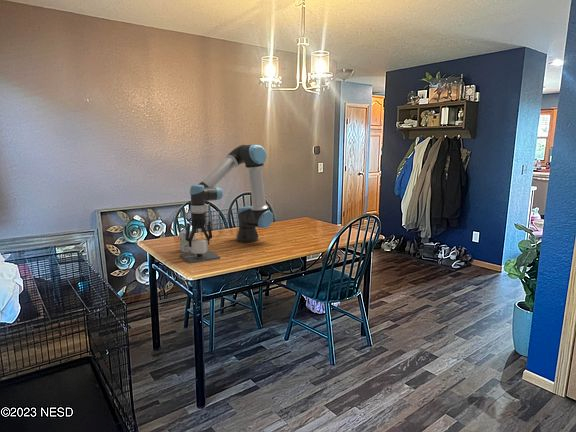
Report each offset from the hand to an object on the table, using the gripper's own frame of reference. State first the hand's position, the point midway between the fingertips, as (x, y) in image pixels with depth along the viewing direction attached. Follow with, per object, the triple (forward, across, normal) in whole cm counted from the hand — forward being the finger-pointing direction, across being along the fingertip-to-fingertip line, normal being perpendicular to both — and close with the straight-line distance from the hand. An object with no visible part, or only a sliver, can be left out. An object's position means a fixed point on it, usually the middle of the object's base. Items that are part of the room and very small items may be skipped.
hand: (199, 251), depth 225 cm
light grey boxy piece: (0, 0, 0) cm, 0 cm away
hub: (+4, 0, 0) cm, 4 cm away
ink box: (+4, +1, -19) cm, 19 cm away
